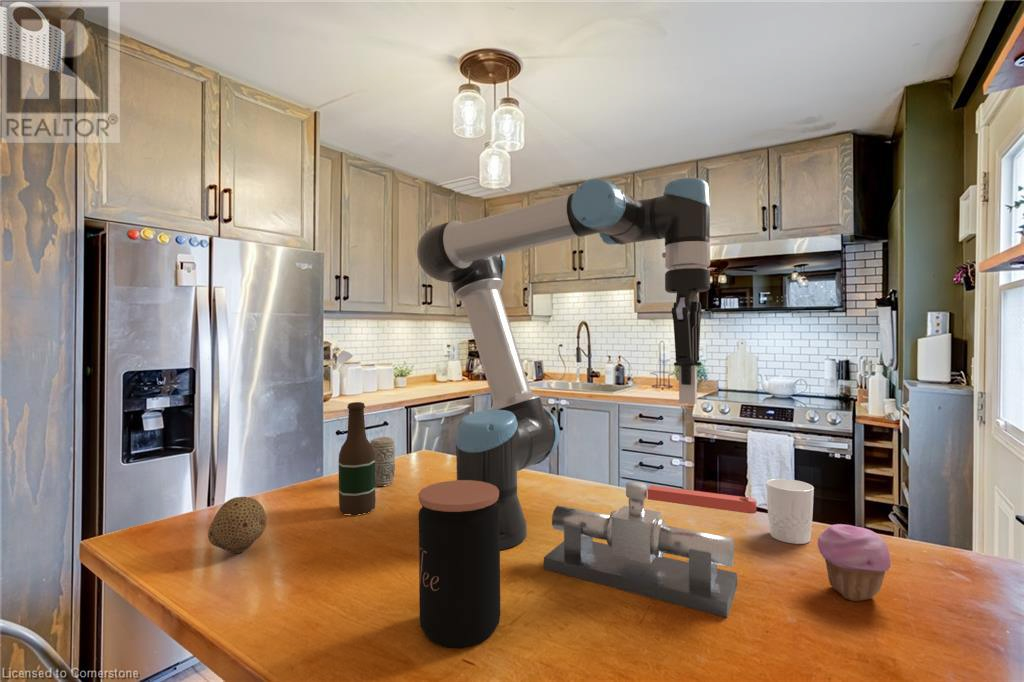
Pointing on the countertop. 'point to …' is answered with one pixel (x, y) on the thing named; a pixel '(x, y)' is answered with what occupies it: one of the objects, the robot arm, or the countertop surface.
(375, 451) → the carving
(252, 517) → the natural sponge
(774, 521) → the white cup
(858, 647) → the countertop surface
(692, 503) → the valve lever
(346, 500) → the beer bottle
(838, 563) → the cupcake
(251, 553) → the countertop surface
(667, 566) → the valve stand
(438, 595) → the coffee jar
